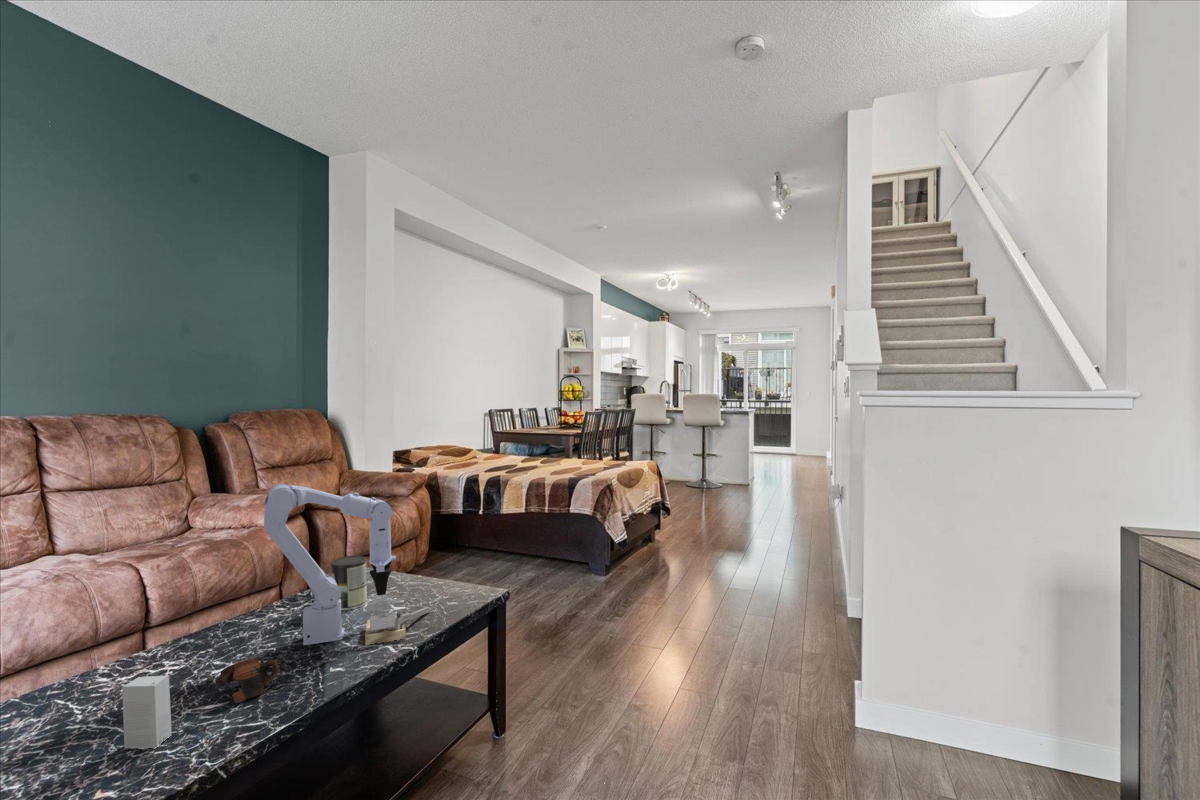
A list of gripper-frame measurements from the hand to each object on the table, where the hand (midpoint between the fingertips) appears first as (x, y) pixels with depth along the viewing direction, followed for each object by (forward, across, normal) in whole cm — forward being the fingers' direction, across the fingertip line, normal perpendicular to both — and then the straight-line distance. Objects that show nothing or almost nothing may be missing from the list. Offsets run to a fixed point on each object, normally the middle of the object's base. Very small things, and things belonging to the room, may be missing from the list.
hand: (381, 590), depth 165 cm
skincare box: (+10, -44, +41) cm, 61 cm away
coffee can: (+10, +22, +10) cm, 26 cm away
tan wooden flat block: (+10, -7, -1) cm, 12 cm away
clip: (+10, -10, 0) cm, 14 cm away
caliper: (+10, -3, -9) cm, 13 cm away
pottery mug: (+10, -29, +27) cm, 41 cm away
